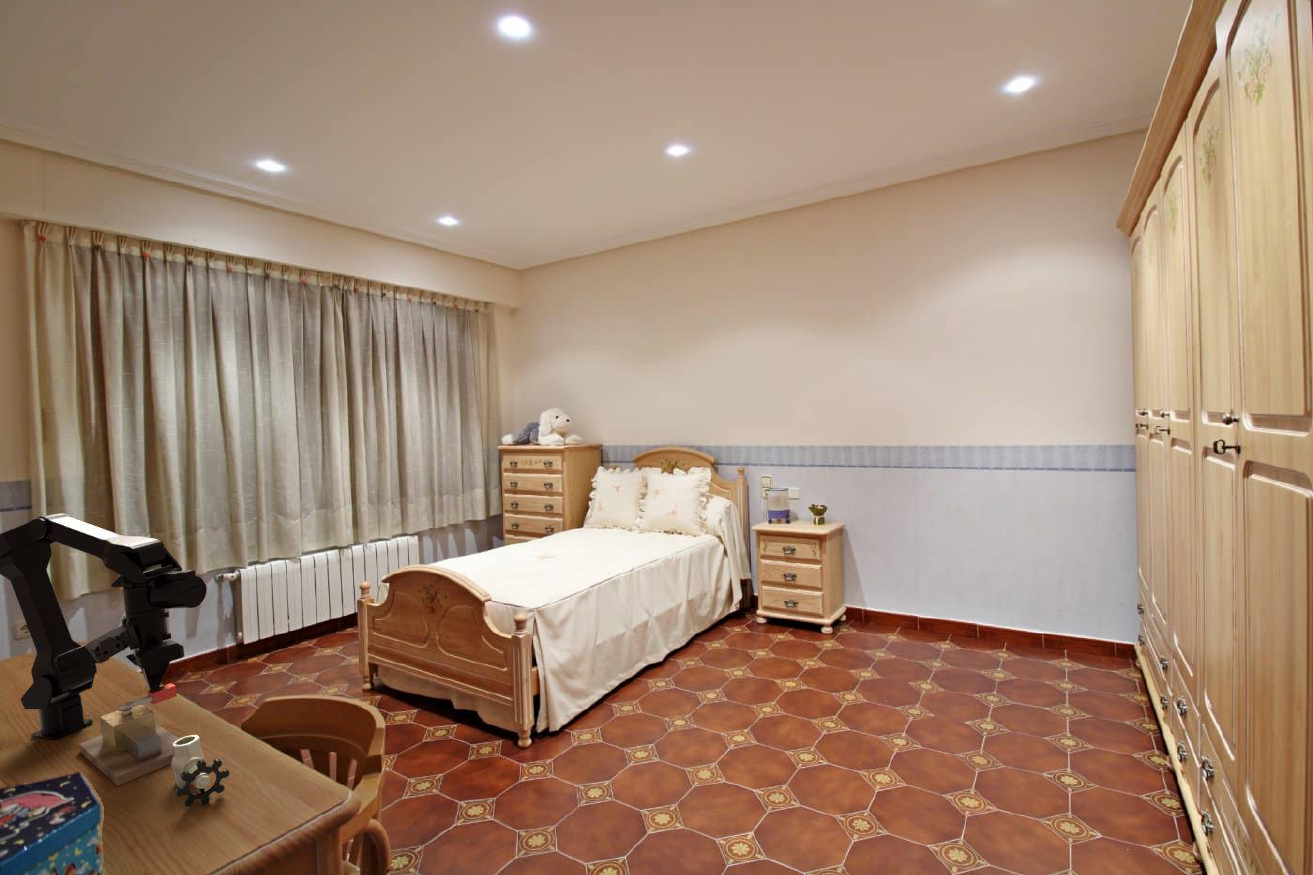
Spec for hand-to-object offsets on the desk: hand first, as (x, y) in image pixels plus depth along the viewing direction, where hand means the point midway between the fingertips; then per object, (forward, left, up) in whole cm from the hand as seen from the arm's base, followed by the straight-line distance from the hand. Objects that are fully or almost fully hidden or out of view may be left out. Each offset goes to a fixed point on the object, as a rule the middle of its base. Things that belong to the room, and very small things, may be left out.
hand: (154, 690), depth 117 cm
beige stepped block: (+4, -7, -6) cm, 10 cm away
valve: (+26, -14, -8) cm, 30 cm away
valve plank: (+4, -7, -8) cm, 11 cm away
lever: (+3, -4, -1) cm, 5 cm away
